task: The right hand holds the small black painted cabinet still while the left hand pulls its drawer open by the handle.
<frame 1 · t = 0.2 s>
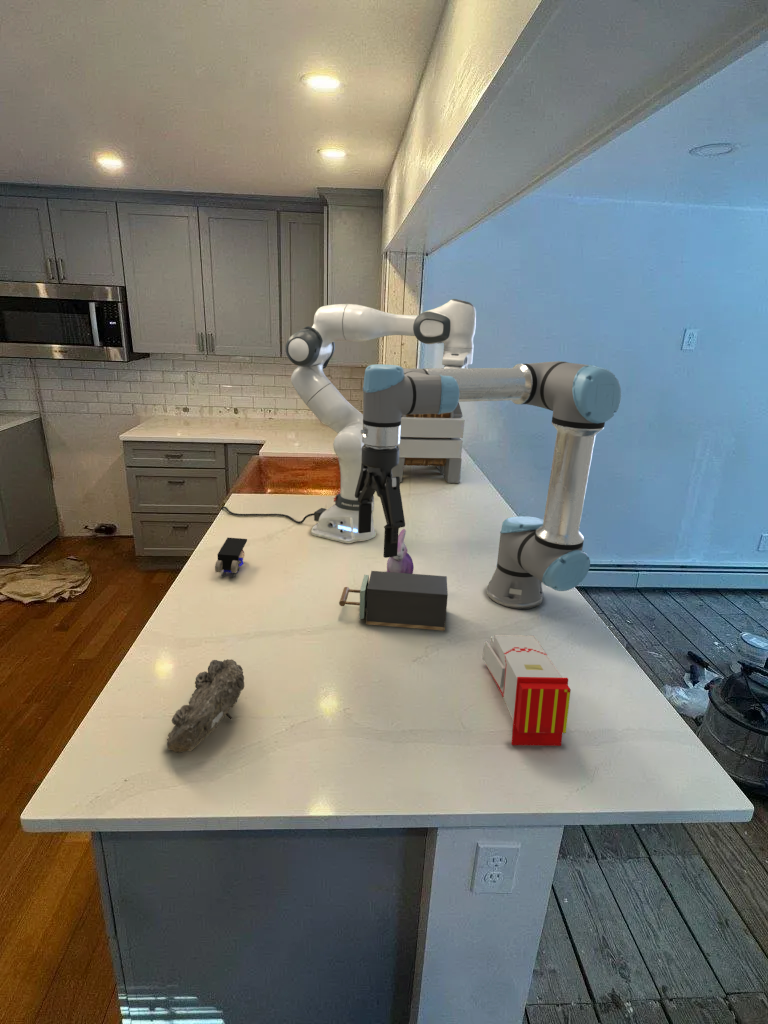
left hand: (453, 403, 174), 48 cm above the counter, tool pointing down, fingers open, 8 cm apart
right hand: (376, 543, 120), 28 cm above the counter, tool pointing down, fingers open, 13 cm apart
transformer: (419, 473, 275), on the counter
cabinet: (406, 616, 146), on the counter
drawer: (387, 598, 145), point 5 cm above the counter, slide at 0.6 cm
black wheeled block: (232, 569, 168), on the counter
fossil: (212, 717, 108), on the counter
toy: (517, 698, 117), on the counter
figurine: (398, 578, 167), on the counter
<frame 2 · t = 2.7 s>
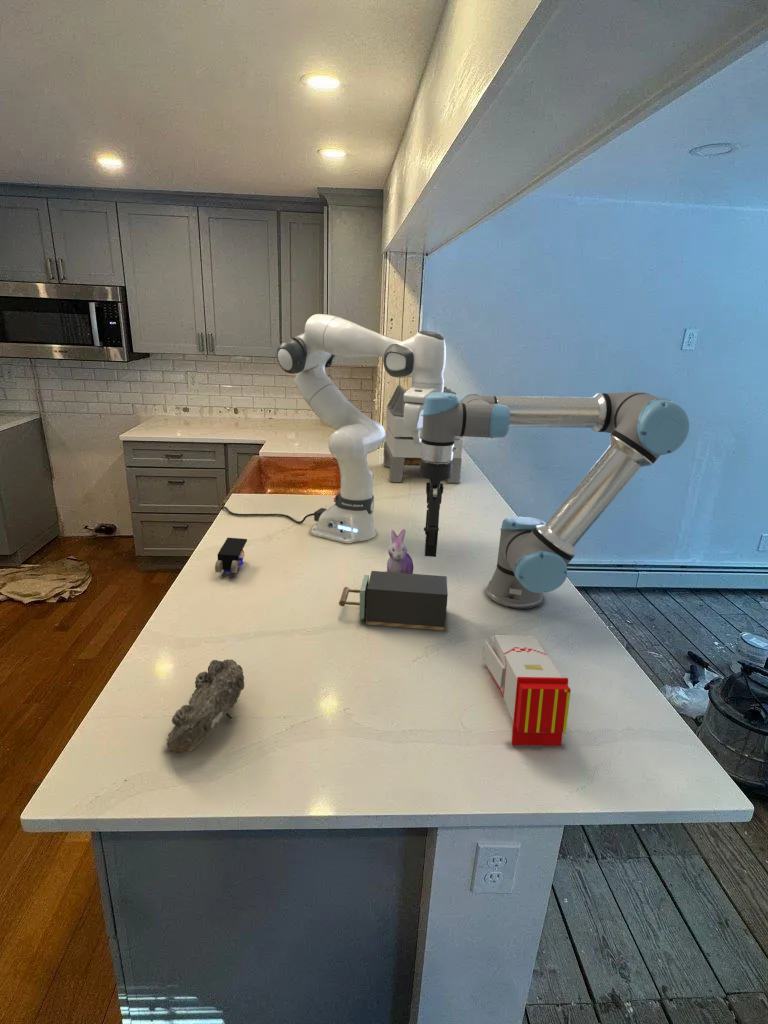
left hand: (424, 441, 162), 39 cm above the counter, tool pointing down, fingers open, 8 cm apart
right hand: (430, 544, 139), 21 cm above the counter, tool pointing down, fingers open, 13 cm apart
nothing on the counter moved.
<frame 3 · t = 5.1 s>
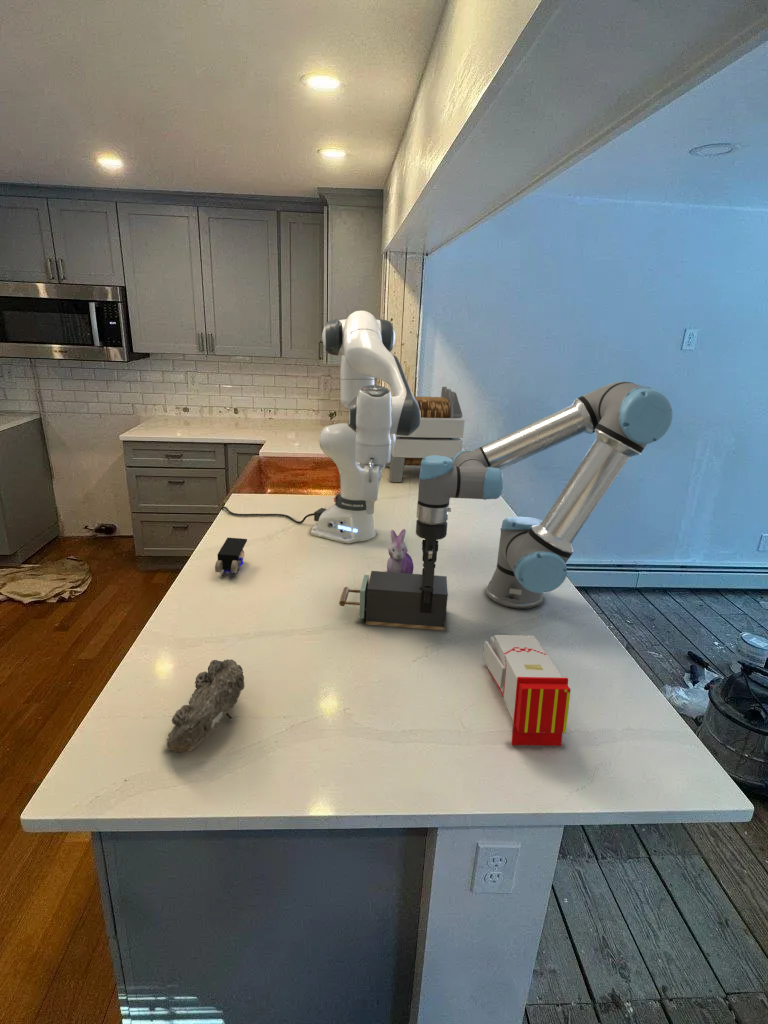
left hand: (371, 507, 144), 27 cm above the counter, tool pointing down, fingers open, 8 cm apart
right hand: (425, 601, 144), 5 cm above the counter, tool pointing down, fingers closed on cabinet, 10 cm apart
cabinet: (406, 616, 146), on the counter, touching right hand
everything else where it was.
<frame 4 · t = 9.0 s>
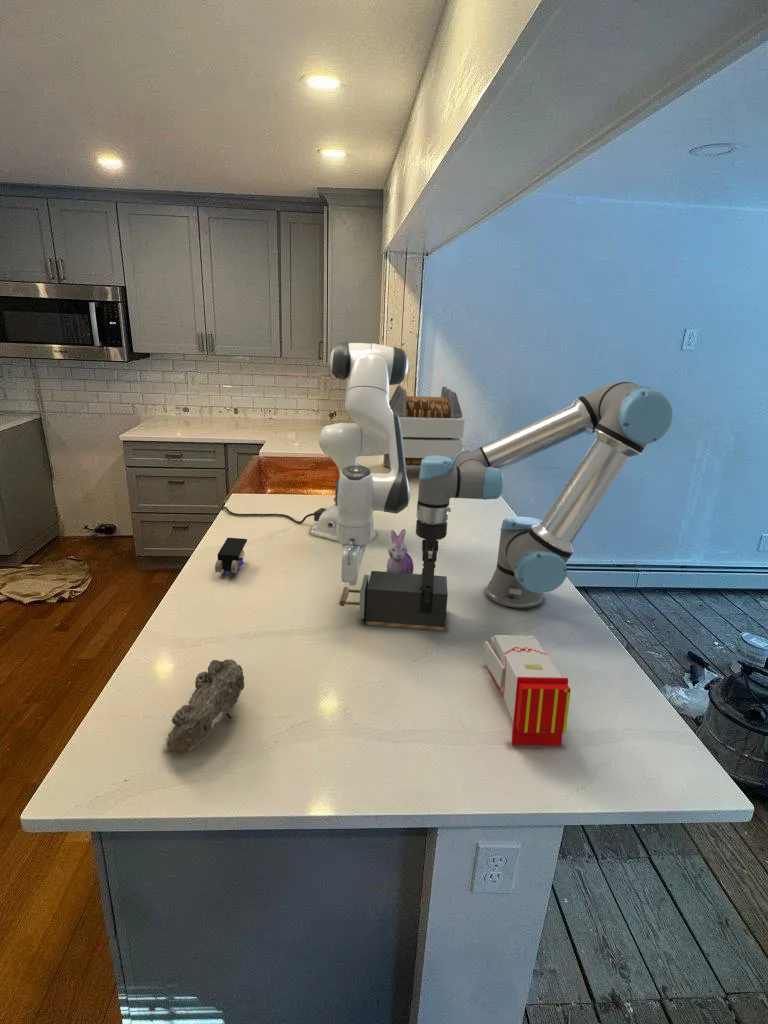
left hand: (353, 583, 144), 9 cm above the counter, tool pointing down, fingers closed
right hand: (425, 601, 144), 5 cm above the counter, tool pointing down, fingers closed on cabinet, 10 cm apart
cabinet: (405, 616, 146), on the counter, touching right hand
everything else where it was.
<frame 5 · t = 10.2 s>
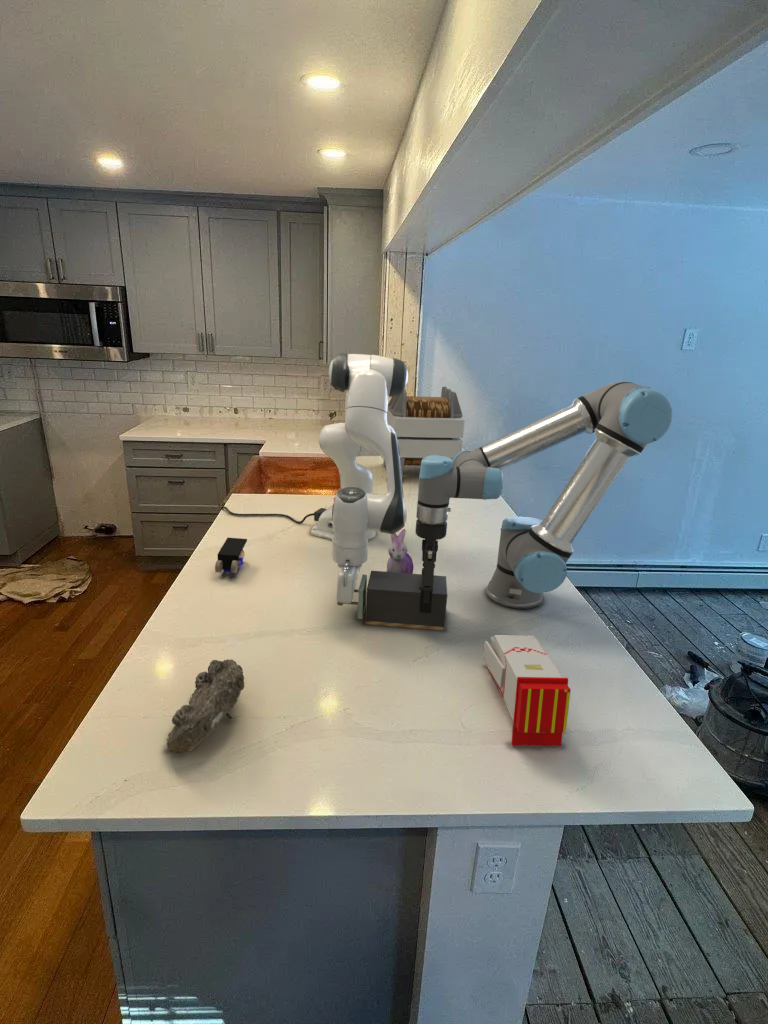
left hand: (348, 601, 146), 3 cm above the counter, tool pointing down, fingers closed, pressing on drawer
right hand: (425, 601, 144), 5 cm above the counter, tool pointing down, fingers closed on cabinet, 10 cm apart
cabinet: (405, 616, 146), on the counter, touching right hand
drawer: (385, 597, 145), point 5 cm above the counter, slide at 1.0 cm, touching left hand
everything else where it was.
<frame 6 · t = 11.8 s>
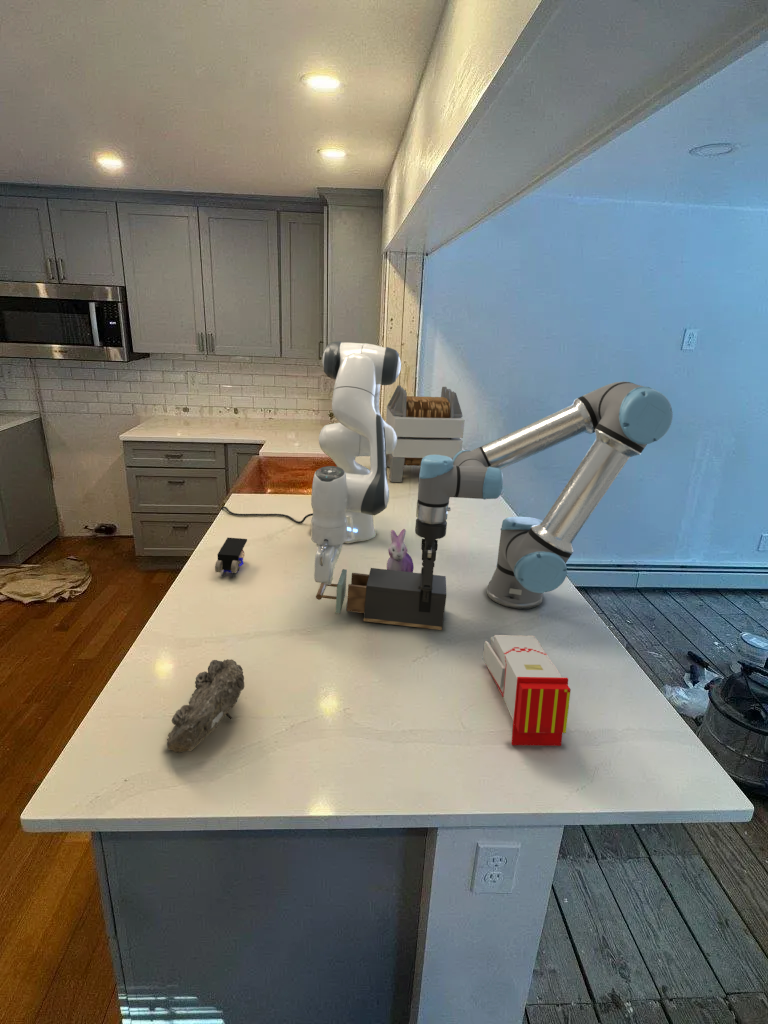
left hand: (328, 582, 145), 8 cm above the counter, tool pointing down, fingers closed
right hand: (424, 600, 144), 5 cm above the counter, tool pointing down, fingers closed on cabinet, 10 cm apart
cabinet: (403, 615, 146), on the counter, touching right hand
drawer: (364, 593, 145), point 6 cm above the counter, slide at 6.1 cm
everything else where it was.
when the right hand's fingers open (5 cm above the counter, at t = 13.1 s): cabinet stays where it is, on the counter.
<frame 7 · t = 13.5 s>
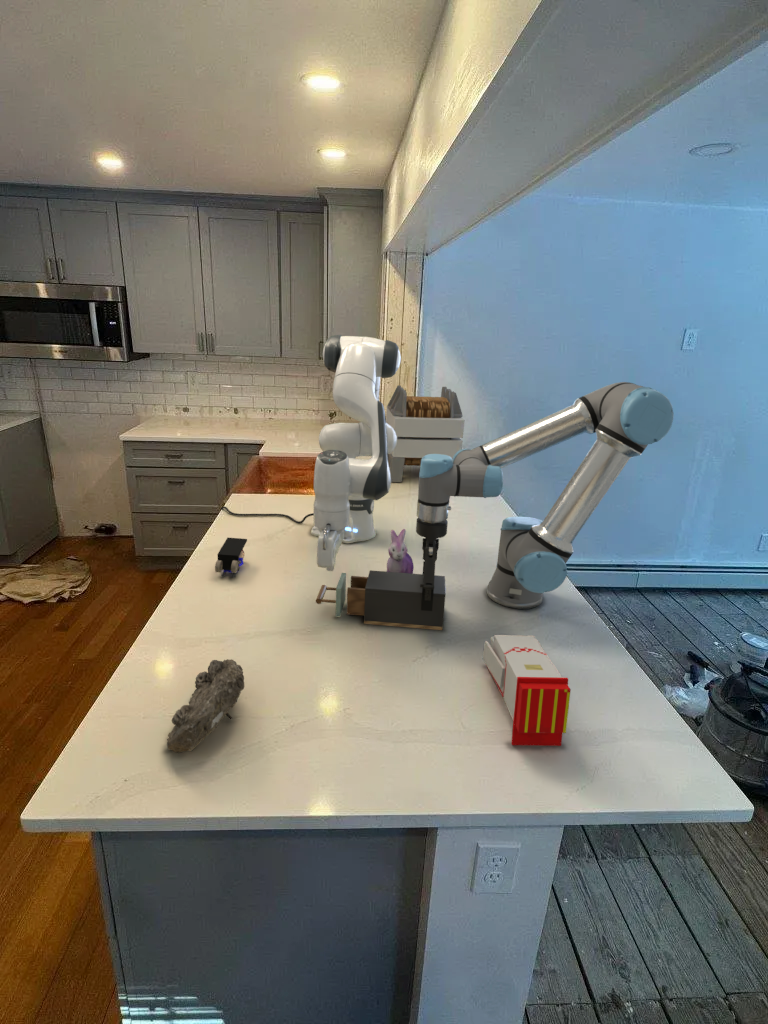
left hand: (331, 568, 143), 12 cm above the counter, tool pointing down, fingers closed
right hand: (426, 596, 144), 6 cm above the counter, tool pointing down, fingers open, 13 cm apart
cabinet: (404, 616, 146), on the counter
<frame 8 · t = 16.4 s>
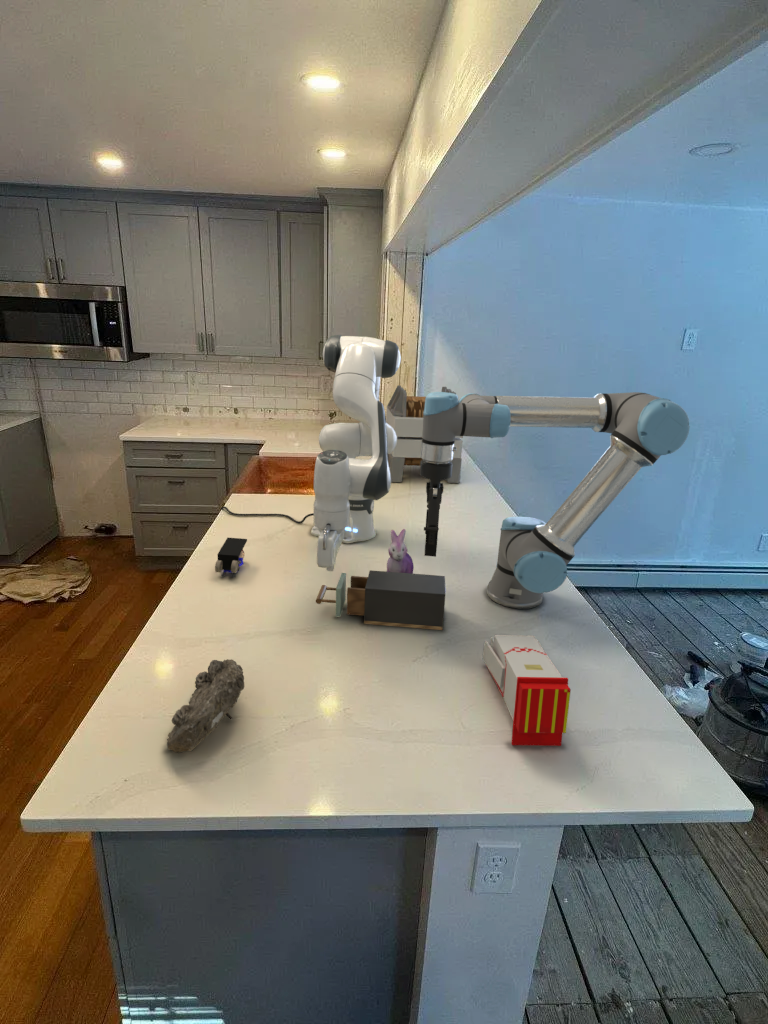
left hand: (331, 568, 143), 12 cm above the counter, tool pointing down, fingers closed
right hand: (430, 544, 139), 21 cm above the counter, tool pointing down, fingers open, 13 cm apart
nothing on the counter moved.
at the end: drawer slide at 6.1 cm; cabinet tilted 0°; cabinet never tilted more than 3° during the clip; cabinet moved 0.5 cm from its start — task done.
